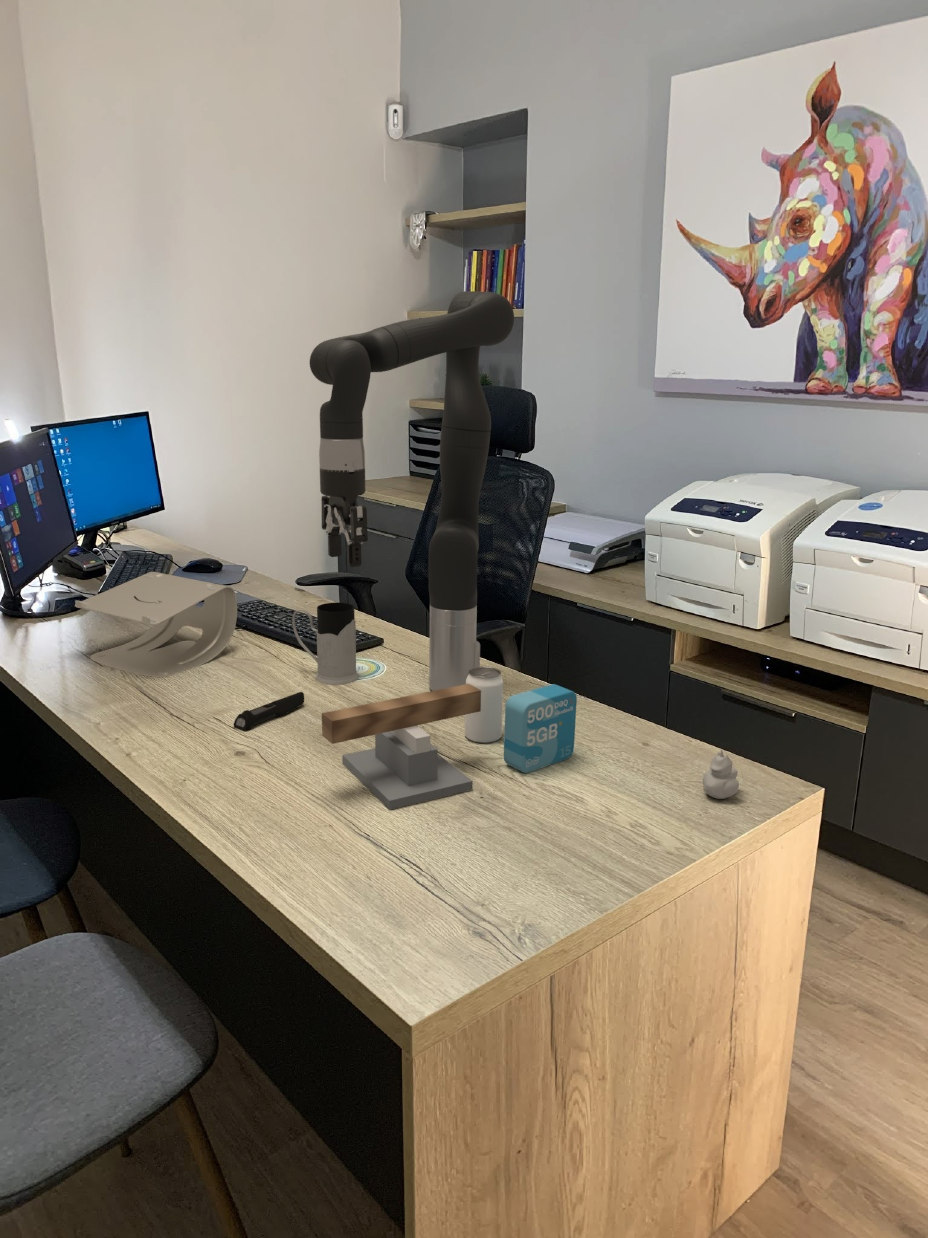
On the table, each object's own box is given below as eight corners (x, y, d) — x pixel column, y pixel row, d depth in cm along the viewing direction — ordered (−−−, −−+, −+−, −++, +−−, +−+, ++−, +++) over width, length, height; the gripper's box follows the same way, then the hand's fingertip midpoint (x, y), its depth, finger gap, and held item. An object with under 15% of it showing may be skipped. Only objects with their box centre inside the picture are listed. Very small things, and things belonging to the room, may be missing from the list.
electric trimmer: (309, 709, 173) (309, 693, 173) (246, 733, 161) (245, 716, 160) (295, 704, 175) (295, 688, 175) (232, 728, 163) (231, 711, 162)
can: (506, 732, 163) (508, 668, 160) (495, 746, 157) (497, 680, 154) (471, 727, 165) (472, 664, 162) (459, 740, 159) (460, 675, 156)
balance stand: (419, 747, 156) (419, 697, 154) (472, 790, 141) (473, 735, 139) (342, 763, 150) (341, 711, 147) (389, 810, 135) (389, 753, 132)
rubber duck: (692, 794, 141) (697, 746, 139) (718, 783, 145) (723, 736, 143) (722, 808, 137) (727, 758, 135) (747, 795, 141) (753, 747, 139)
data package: (521, 776, 146) (523, 705, 143) (502, 766, 150) (504, 697, 147) (574, 757, 154) (578, 689, 150) (555, 748, 157) (558, 682, 154)
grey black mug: (347, 687, 184) (345, 614, 180) (284, 678, 188) (281, 607, 184) (365, 673, 192) (364, 604, 188) (304, 665, 196) (302, 597, 192)
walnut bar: (332, 744, 135) (331, 721, 134) (322, 735, 138) (321, 713, 137) (480, 711, 148) (481, 690, 147) (468, 704, 151) (468, 683, 150)
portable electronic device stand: (242, 652, 204) (239, 584, 200) (158, 682, 185) (152, 607, 181) (163, 632, 217) (158, 568, 213) (76, 659, 198) (69, 589, 193)
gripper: (305, 462, 157) (308, 555, 161) (337, 471, 145) (340, 572, 149) (346, 460, 160) (348, 551, 165) (381, 469, 148) (382, 567, 153)
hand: (344, 561), depth 157 cm, fingers open, 8 cm apart
